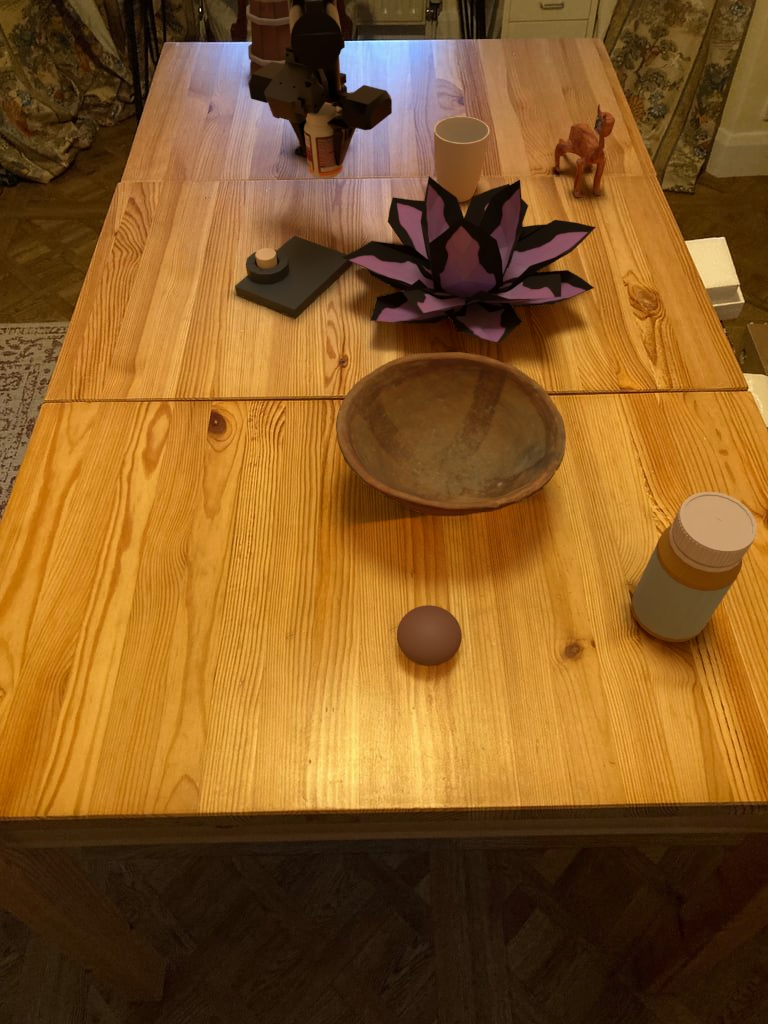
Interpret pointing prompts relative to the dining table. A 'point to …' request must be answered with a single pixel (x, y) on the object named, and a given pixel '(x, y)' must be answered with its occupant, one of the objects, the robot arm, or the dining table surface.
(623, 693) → the dining table surface
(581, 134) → the orange animal figurine
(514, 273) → the decorative flower
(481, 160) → the cup
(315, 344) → the dining table surface
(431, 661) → the brown flattened ball
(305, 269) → the dark flat slab piece
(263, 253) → the button
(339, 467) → the dining table surface
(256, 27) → the mug
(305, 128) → the pill bottle
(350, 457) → the bowl
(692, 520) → the bottle
